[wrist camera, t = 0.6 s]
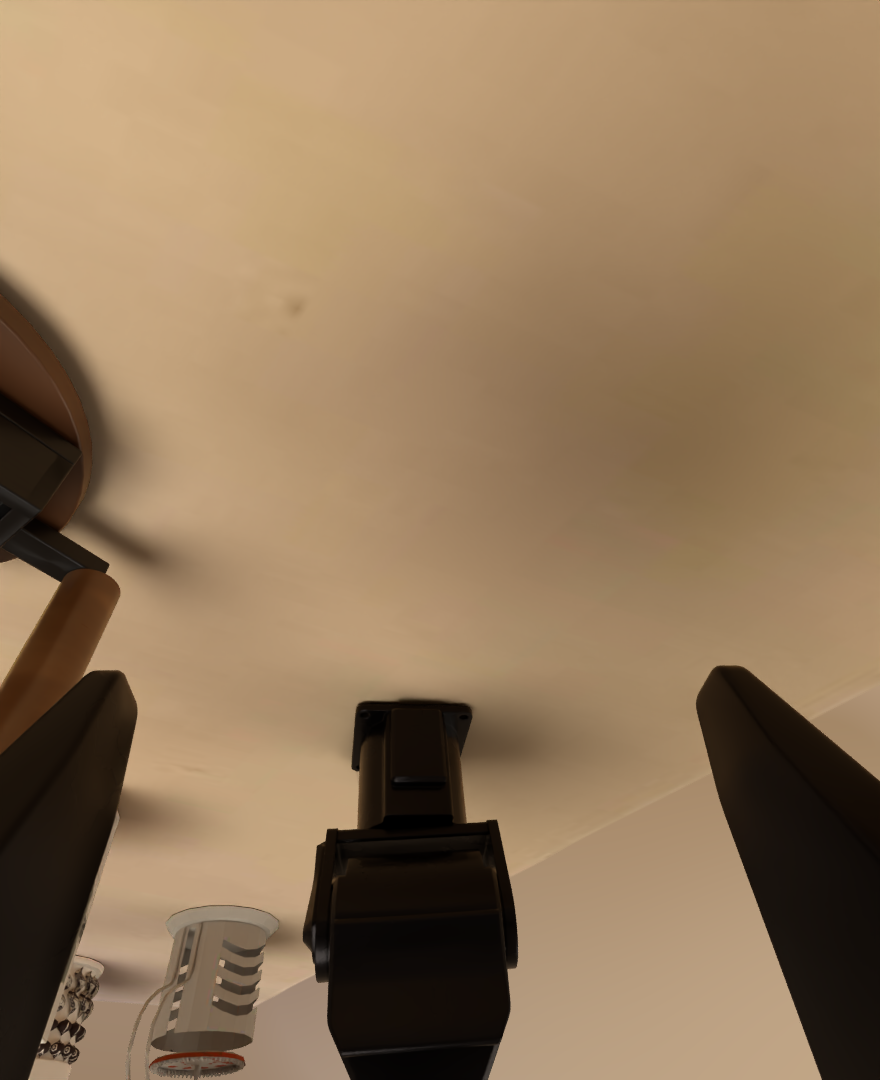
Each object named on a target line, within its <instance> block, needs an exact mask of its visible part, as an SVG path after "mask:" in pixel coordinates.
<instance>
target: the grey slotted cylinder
mask: <svg viewBox="0 0 880 1080" xmlns="http://www.w3.org/2000/svg"><path fill="white" fill-rule="evenodd" d="M166 926H167V929H168V931H169V933H170V934H171V936H172V937H173V939H174V943H173V947H172V952H171V956H170V960H169V965H168V969H167V973H166V977H165V982H164V986H163V987H162V988H160V989H158V990H157V991H156V992H155V993H154V994H153V995H152V996H151V997H150V998H149V999H148V1000H147V1001H146V1003H145V1004H144V1006H143V1008H142V1010H141V1012H140V1014H139V1016H138V1018H137V1020H136V1023H135V1025H134V1028H133V1032H132V1036H131V1040H130V1043H129V1047H128V1051H127V1059H126V1080H130V1052H131V1048H132V1045H133V1041H134V1037H135V1034H136V1030H137V1027H138V1025H139V1022H140V1019H141V1016H142V1014H143V1012H144V1010H145V1009H146V1007H147V1005H148V1003H149V1002H150V1001H151V1000H152V999H153V998H154V997H155V996H156V995H157V994H158V993H160V992H162V995H161V999H160V1003H159V1008H158V1011H157V1013H156V1015H155V1017H154V1019H153V1021H152V1024H151V1028H150V1033H149V1037H148V1042H147V1048H146V1052H145V1070H146V1080H150V1079H149V1069H150V1071H151V1072H152V1073H153V1074H157V1075H158V1074H159V1076H160V1075H161V1076H166V1075H167V1076H169V1075H170V1074H171V1075H170V1077H172V1076H173V1075H174V1077H176V1075H178V1078H179V1076H180V1075H182V1078H183V1076H184V1075H186V1078H187V1077H188V1075H190V1078H192V1075H193V1076H194V1080H197V1079H198V1077H199V1078H200V1077H201V1075H203V1078H204V1077H205V1075H206V1077H209V1076H210V1075H211V1077H212V1076H213V1075H215V1076H217V1075H218V1076H220V1075H221V1074H222V1075H224V1074H225V1075H226V1074H228V1073H230V1074H231V1073H233V1072H237V1071H238V1070H241V1069H243V1067H244V1066H245V1062H244V1058H243V1057H242V1056H240V1055H238V1054H235V1053H233V1052H226V1051H227V1050H233V1049H237V1048H241V1047H243V1046H246V1045H248V1044H250V1043H251V1042H252V1041H253V1033H254V1026H255V1019H256V1012H257V1008H255V1009H254V1010H252V1008H253V1004H254V1002H255V1001H256V1000H257V999H258V996H259V989H260V988H258V989H257V990H255V986H256V985H257V984H258V982H259V981H260V980H261V974H262V970H260V971H259V972H258V968H259V967H260V965H261V964H262V963H263V958H264V952H263V953H262V954H260V952H261V950H262V949H263V948H264V947H265V944H266V940H267V939H268V938H269V937H270V936H271V935H272V934H273V933H274V932H275V931H276V930H277V929H278V928H279V925H278V920H277V919H275V918H274V917H273V916H272V915H270V914H268V913H265V912H262V911H259V910H256V909H252V908H244V907H236V906H206V907H200V908H194V909H188V910H185V911H182V912H180V913H177V914H175V915H172V916H171V917H170V919H169V920H168V921H167V922H166ZM220 959H221V960H225V965H224V967H222V966H220V965H219V961H220ZM185 965H188V969H187V972H186V973H183V974H181V975H179V972H180V967H183V966H185ZM217 976H219V977H221V978H222V983H221V984H216V978H217ZM177 984H178V985H177ZM183 985H184V988H183V990H181V991H179V992H175V990H176V989H177V988H179V987H181V986H183ZM213 995H215V996H216V997H218V998H219V1000H218V1002H216V1001H212V1000H213ZM178 1000H181V1002H180V1007H179V1008H178V1009H176V1010H174V1011H171V1008H172V1004H173V1002H176V1001H178ZM175 1018H177V1021H176V1026H175V1028H174V1029H172V1030H169V1031H167V1026H168V1022H169V1021H171V1020H174V1019H175ZM151 1045H152V1046H153V1047H155V1048H156V1049H160V1050H163V1051H171V1052H177V1053H173V1054H170V1055H165V1056H162V1057H158V1058H157V1059H155V1060H154V1061H153V1062H152V1063H151V1064H150V1066H149V1063H148V1056H149V1051H150V1046H151ZM226 1072H227V1073H226ZM216 1073H217V1074H216ZM218 1073H221V1074H218ZM223 1073H224V1074H223ZM208 1074H209V1075H208ZM199 1075H200V1076H199Z"/></svg>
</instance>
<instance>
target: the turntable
mask: <svg viewBox="0 0 880 1080" xmlns="http://www.w3.org/2000/svg"><path fill="white" fill-rule="evenodd" d="M0 393H1V394H3V395H4V396H6V397H7V398H8V399H10V400H11V401H13V402H14V403H15V404H17V405H18V406H19V407H21V408H22V409H24V410H25V411H26V412H28V413H29V414H31V415H32V416H33V417H35V418H36V419H38V420H39V421H40V422H42V423H43V424H45V425H46V426H47V427H49V428H50V429H52V430H53V431H54V432H56V433H57V434H59V435H60V436H61V437H63V438H64V439H65V440H67V441H68V442H70V443H71V444H72V445H74V446H75V447H77V448H78V449H79V450H81V451H82V455H81V457H80V458H79V459H78V461H77V462H76V464H75V465H74V466H73V468H72V469H71V471H70V472H69V474H68V475H67V476H66V478H65V479H64V481H63V482H62V484H61V485H60V486H59V488H58V489H57V491H56V492H55V493H54V495H53V496H52V498H51V499H50V500H49V502H48V503H47V505H46V506H45V508H44V509H43V510H42V512H40V513H39V514H38V515H37V516H36V517H35V518H36V519H38V520H40V521H41V522H43V523H44V524H46V525H48V526H49V527H51V528H52V529H54V530H56V531H57V532H60V531H61V530H62V529H63V528H64V527H65V526H66V525H67V524H68V522H69V521H70V519H71V517H72V516H73V514H74V513H75V511H76V510H77V508H78V506H79V505H80V503H81V502H82V500H83V498H84V496H85V493H86V490H87V488H88V485H89V482H90V476H91V470H92V442H91V437H90V432H89V427H88V422H87V419H86V416H85V413H84V410H83V407H82V404H81V402H80V399H79V397H78V395H77V393H76V391H75V389H74V387H73V385H72V383H71V381H70V379H69V377H68V375H67V373H66V372H65V370H64V369H63V367H62V366H61V364H60V363H59V361H58V359H57V358H56V356H55V355H54V353H53V352H52V350H51V349H50V348H49V346H48V345H47V344H46V343H45V342H44V340H43V339H42V338H41V337H40V335H39V334H38V333H37V332H36V330H35V329H34V328H33V327H32V325H31V324H30V323H29V322H28V321H27V320H26V319H25V318H24V317H23V316H22V315H21V314H20V313H19V312H18V311H17V310H16V309H15V308H14V307H13V306H12V305H11V304H10V303H9V301H8V300H7V299H6V298H4V297H3V296H2V295H1V294H0ZM15 558H18V557H16V556H14V555H12V554H11V553H9V552H7V551H5V550H4V549H2V548H0V563H1V562H6V561H9V560H12V559H15Z"/></svg>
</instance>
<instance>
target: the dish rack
mask: <svg viewBox="0 0 880 1080" xmlns="http://www.w3.org/2000/svg"><path fill="white" fill-rule="evenodd" d="M81 455H82V451H81V450H79V449H78V448H77V447H75V446H74V445H72V444H71V443H70V442H68V441H67V440H65V439H64V438H63V437H61V436H60V435H59V434H57V433H56V432H54V431H53V430H52V429H50V428H49V427H47V426H46V425H45V424H43V423H42V422H40V421H39V420H38V419H36V418H35V417H33V416H32V415H31V414H29V413H28V412H26V411H25V410H24V409H22V408H21V407H19V406H18V405H17V404H15V403H14V402H13V401H11V400H10V399H8V398H7V397H6V396H4V395H3V394H1V393H0V548H2V549H4V550H5V551H7V552H9V553H11V554H12V555H14V556H16V557H18V558H19V559H21V560H23V561H25V562H26V563H28V564H30V565H32V566H33V567H35V568H37V569H39V570H40V571H42V572H44V573H46V574H47V575H49V576H51V577H52V578H54V579H56V580H58V581H59V582H61V583H60V585H59V587H58V588H57V590H56V592H55V593H54V595H53V597H52V599H51V600H50V602H49V604H48V605H47V607H46V609H45V611H44V612H43V614H42V616H41V617H40V619H39V621H38V623H37V624H36V626H35V628H34V629H33V631H32V633H31V635H30V636H29V638H28V640H27V641H26V643H25V645H24V647H23V648H22V650H21V652H20V653H19V655H18V657H17V659H16V660H15V662H14V664H13V665H12V667H11V669H10V671H9V672H8V674H7V676H6V677H5V679H4V681H3V683H2V684H1V686H0V754H1V753H2V752H3V751H4V750H5V749H7V748H8V747H9V746H10V745H11V744H12V743H13V742H14V741H15V740H16V739H17V738H18V737H19V736H21V735H22V734H23V733H24V732H25V731H26V730H27V729H28V728H29V727H30V726H31V725H32V724H34V723H35V722H36V721H37V720H38V719H39V718H40V717H41V716H42V715H43V714H44V713H45V712H46V711H48V710H49V709H50V708H51V707H52V706H53V705H54V704H55V703H56V702H57V701H58V700H59V699H60V698H62V697H63V696H64V695H65V694H66V693H67V692H68V691H69V690H70V689H71V688H72V687H73V686H74V685H76V684H77V683H78V682H79V681H80V680H81V679H82V677H83V675H84V673H85V670H86V668H87V666H88V664H89V662H90V660H91V658H92V655H93V653H94V651H95V649H96V647H97V645H98V643H99V640H100V638H101V636H102V634H103V632H104V630H105V628H106V625H107V623H108V621H109V619H110V617H111V615H112V613H113V610H114V608H115V606H116V604H117V602H118V600H119V597H120V588H119V586H118V584H117V583H116V581H115V580H114V579H112V578H111V577H110V576H108V575H107V574H105V573H106V571H107V569H108V567H109V563H107V562H105V561H104V560H102V559H101V558H99V557H97V556H96V555H94V554H93V553H91V552H89V551H88V550H86V549H85V548H83V547H81V546H80V545H78V544H76V543H75V542H73V541H72V540H70V539H68V538H67V537H65V536H64V535H62V534H60V533H59V532H57V531H56V530H54V529H52V528H51V527H49V526H48V525H46V524H44V523H43V522H41V521H40V520H38V519H36V518H35V517H36V516H37V515H38V514H39V513H40V512H42V510H43V509H44V508H45V506H46V505H47V503H48V502H49V500H50V499H51V498H52V496H53V495H54V493H55V492H56V491H57V489H58V488H59V486H60V485H61V484H62V482H63V481H64V479H65V478H66V476H67V475H68V474H69V472H70V471H71V469H72V468H73V466H74V465H75V464H76V462H77V461H78V459H79V458H80V457H81Z"/></svg>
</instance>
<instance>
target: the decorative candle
mask: <svg viewBox="0 0 880 1080" xmlns="http://www.w3.org/2000/svg"><path fill="white" fill-rule="evenodd" d="M103 971H104V967H103V966H102V964H101V963H99V962H97V961H95V960H92V959H90V958H85V957H80V956H75V958H74V961H73V964H72V967H71V970H70V973H69V976H68V979H67V982H66V985H65V988H64V991H63V994H62V997H61V1001H60V1004H59V1007H58V1010H57V1013H56V1016H55V1019H54V1022H53V1025H52V1028H51V1030H50V1034H49V1037H48V1040H47V1042H46V1043H40V1046H39V1049H38V1052H37V1055H36V1058H35V1061H34V1064H33V1067H32V1070H31V1073H30V1076H29V1079H28V1080H68V1077H69V1074H70V1071H71V1066H70V1064H72V1063H73V1062H75V1061H76V1060H77V1058H78V1056H79V1050H78V1049H77V1048H76V1047H75V1046H74V1045H75V1043H76V1042H78V1041H80V1040H81V1039H82V1038H83V1037H84V1035H85V1033H86V1030H85V1028H83V1027H82V1026H81V1023H82V1022H83V1021H84V1020H85V1019H86V1018H88V1017H89V1015H90V1014H91V1012H92V1010H93V1002H92V1000H91V999H92V998H93V997H94V996H95V995H96V994H97V992H98V990H99V983H98V981H97V980H96V979H98V978H99V977H100V976H101V974H102V973H103Z"/></svg>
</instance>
